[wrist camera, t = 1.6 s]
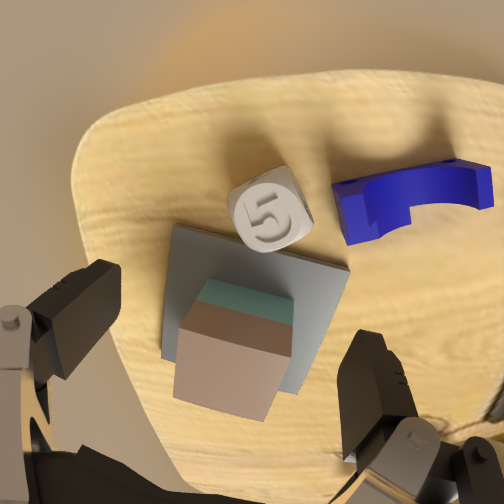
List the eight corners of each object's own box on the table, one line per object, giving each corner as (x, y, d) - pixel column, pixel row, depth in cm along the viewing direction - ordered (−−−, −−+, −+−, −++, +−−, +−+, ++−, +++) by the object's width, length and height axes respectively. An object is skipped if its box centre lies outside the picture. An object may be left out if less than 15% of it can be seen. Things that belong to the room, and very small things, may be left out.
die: (287, 162, 25) (285, 168, 20) (312, 215, 26) (316, 234, 21) (233, 187, 26) (219, 200, 21) (260, 238, 27) (252, 261, 23)
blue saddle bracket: (342, 233, 26) (353, 260, 21) (331, 183, 25) (340, 198, 19) (461, 206, 23) (494, 225, 18) (455, 157, 22) (490, 166, 17)
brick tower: (348, 267, 27) (367, 324, 19) (297, 388, 33) (293, 451, 25) (176, 223, 28) (129, 262, 19) (164, 352, 34) (133, 407, 26)
